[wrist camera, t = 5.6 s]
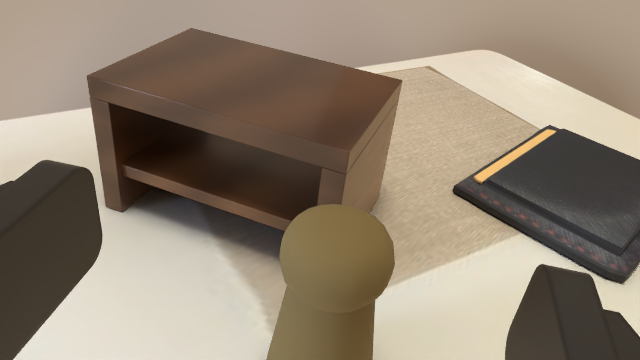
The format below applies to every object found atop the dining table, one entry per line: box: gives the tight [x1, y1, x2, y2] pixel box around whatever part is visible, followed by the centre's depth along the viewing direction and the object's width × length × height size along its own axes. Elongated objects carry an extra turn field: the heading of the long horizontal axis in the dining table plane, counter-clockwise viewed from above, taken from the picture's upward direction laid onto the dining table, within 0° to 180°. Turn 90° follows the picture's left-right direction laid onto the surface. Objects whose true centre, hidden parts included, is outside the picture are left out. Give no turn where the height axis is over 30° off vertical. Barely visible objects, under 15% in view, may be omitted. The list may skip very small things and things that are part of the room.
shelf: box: [87, 28, 402, 231], centre depth 39 cm, size 18×12×10 cm, turn 68°
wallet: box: [453, 125, 640, 283], centre depth 48 cm, size 20×2×15 cm
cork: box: [266, 204, 395, 360], centre depth 26 cm, size 6×6×11 cm
